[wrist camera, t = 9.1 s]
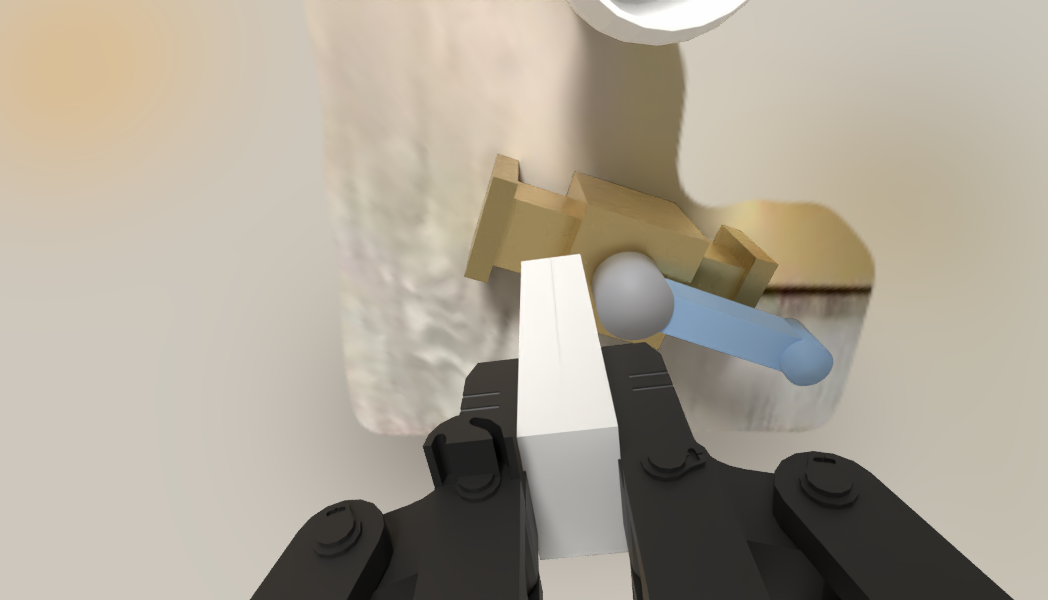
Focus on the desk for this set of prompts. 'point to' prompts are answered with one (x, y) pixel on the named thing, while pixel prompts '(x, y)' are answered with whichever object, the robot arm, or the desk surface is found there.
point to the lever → (702, 319)
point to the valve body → (610, 237)
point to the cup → (655, 18)
